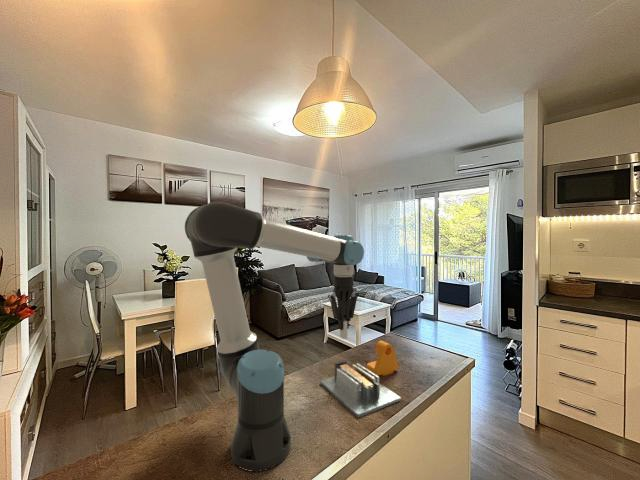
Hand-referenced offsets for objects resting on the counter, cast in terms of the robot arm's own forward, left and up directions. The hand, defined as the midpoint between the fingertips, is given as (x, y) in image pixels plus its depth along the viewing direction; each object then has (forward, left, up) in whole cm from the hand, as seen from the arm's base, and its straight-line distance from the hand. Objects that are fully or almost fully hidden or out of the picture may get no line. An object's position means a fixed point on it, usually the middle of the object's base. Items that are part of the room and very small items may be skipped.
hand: (343, 337), depth 105 cm
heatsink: (0, -9, -17) cm, 19 cm away
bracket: (+18, -1, -17) cm, 25 cm away
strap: (0, -8, -12) cm, 14 cm away
